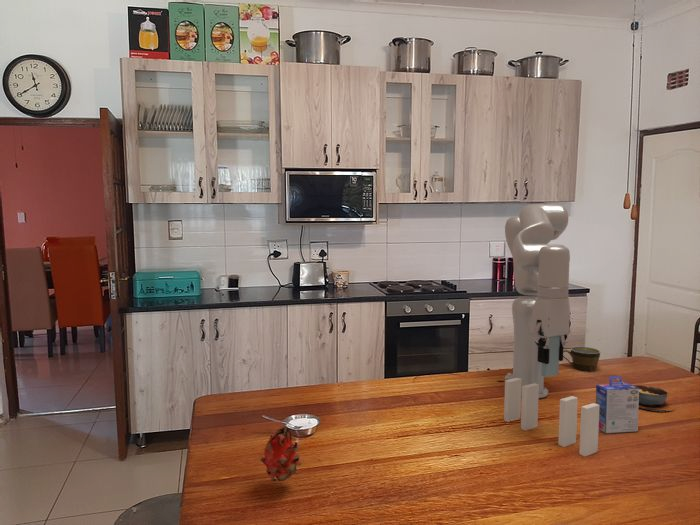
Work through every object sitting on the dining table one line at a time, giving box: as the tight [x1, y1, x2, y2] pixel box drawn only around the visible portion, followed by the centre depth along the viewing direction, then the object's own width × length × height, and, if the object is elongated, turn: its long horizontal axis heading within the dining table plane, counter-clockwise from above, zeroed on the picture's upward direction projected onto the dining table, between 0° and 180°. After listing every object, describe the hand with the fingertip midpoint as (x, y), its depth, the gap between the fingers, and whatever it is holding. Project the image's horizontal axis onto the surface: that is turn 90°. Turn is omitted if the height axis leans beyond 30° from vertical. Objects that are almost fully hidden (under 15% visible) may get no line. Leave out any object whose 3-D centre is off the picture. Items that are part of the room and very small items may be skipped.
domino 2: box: [520, 383, 539, 431], centre depth 142 cm, size 2×5×12 cm, turn 121°
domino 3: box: [541, 334, 560, 378], centre depth 135 cm, size 2×5×12 cm, turn 121°
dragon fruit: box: [260, 427, 302, 482], centre depth 112 cm, size 8×8×12 cm
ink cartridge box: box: [595, 375, 640, 434], centre depth 141 cm, size 10×6×14 cm, turn 98°
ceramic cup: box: [563, 346, 601, 373], centre depth 189 cm, size 13×10×10 cm
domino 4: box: [557, 395, 579, 448], centre depth 132 cm, size 2×5×12 cm, turn 121°
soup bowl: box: [616, 379, 675, 413], centre depth 159 cm, size 15×16×7 cm
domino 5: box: [578, 402, 600, 457], centre depth 126 cm, size 2×5×12 cm, turn 122°
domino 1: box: [503, 378, 522, 423], centre depth 147 cm, size 2×5×12 cm, turn 122°
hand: (550, 360), depth 135 cm, fingers closed on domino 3, 4 cm apart
